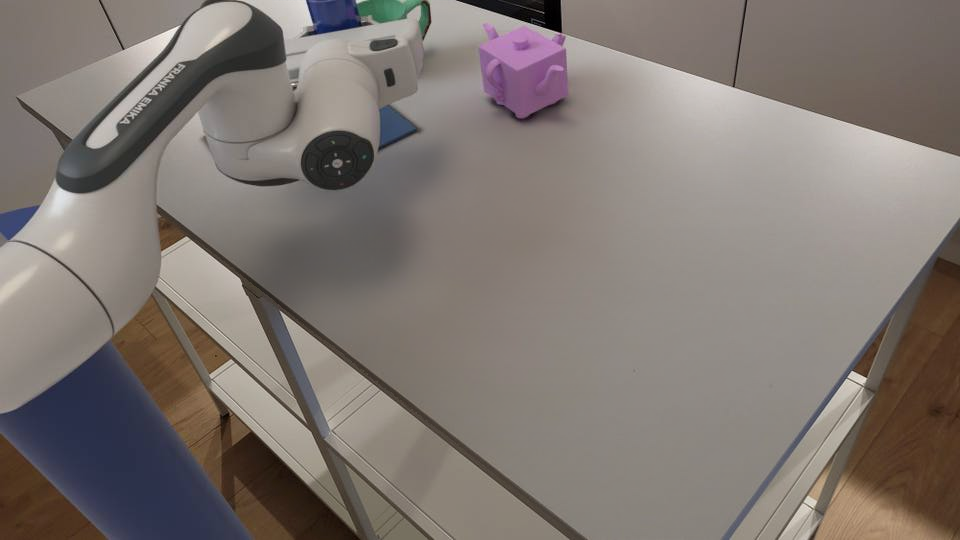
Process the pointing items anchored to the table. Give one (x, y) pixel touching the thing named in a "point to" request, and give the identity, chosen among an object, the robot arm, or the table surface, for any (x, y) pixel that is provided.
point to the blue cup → (333, 15)
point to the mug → (396, 11)
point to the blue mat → (392, 126)
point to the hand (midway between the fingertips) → (339, 26)
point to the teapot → (524, 69)
